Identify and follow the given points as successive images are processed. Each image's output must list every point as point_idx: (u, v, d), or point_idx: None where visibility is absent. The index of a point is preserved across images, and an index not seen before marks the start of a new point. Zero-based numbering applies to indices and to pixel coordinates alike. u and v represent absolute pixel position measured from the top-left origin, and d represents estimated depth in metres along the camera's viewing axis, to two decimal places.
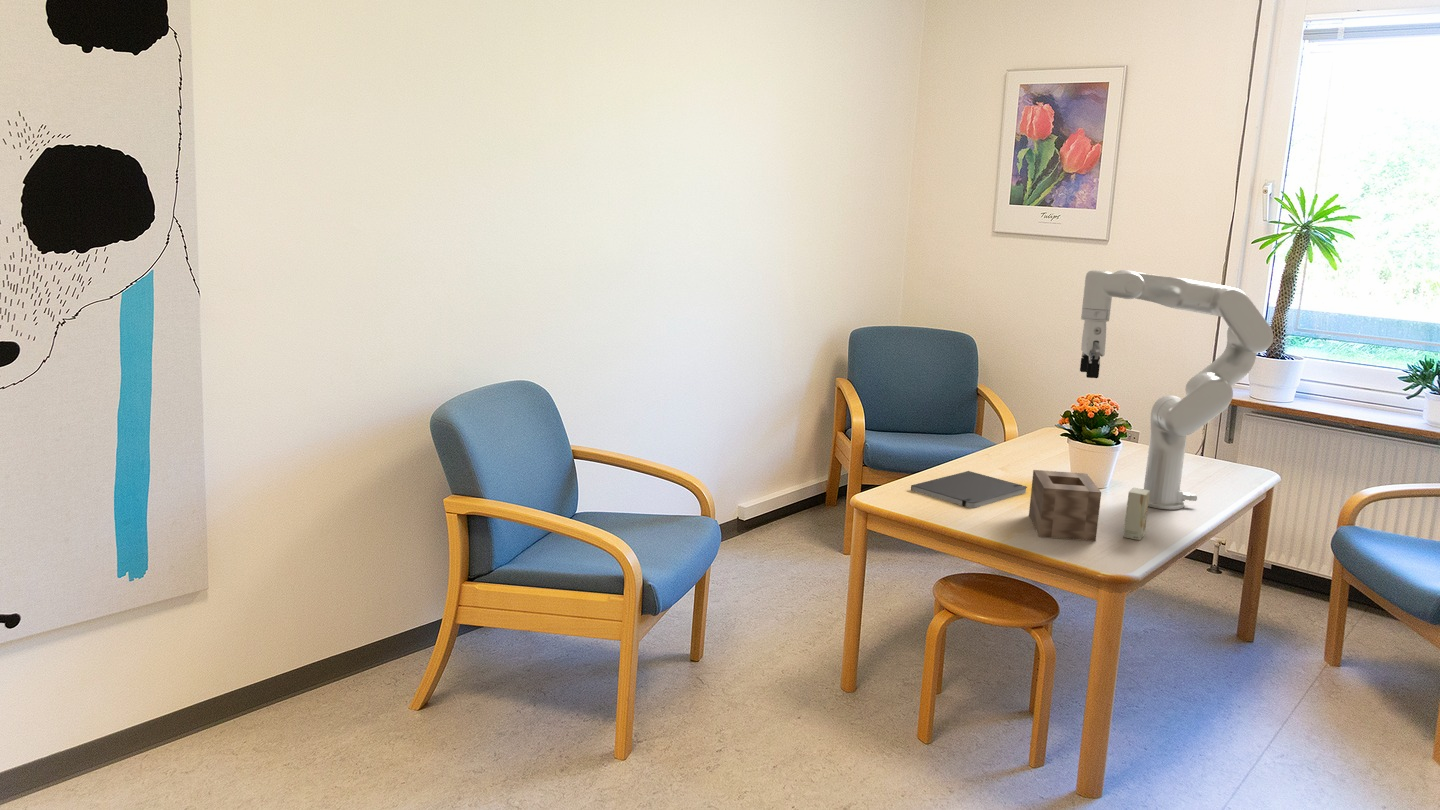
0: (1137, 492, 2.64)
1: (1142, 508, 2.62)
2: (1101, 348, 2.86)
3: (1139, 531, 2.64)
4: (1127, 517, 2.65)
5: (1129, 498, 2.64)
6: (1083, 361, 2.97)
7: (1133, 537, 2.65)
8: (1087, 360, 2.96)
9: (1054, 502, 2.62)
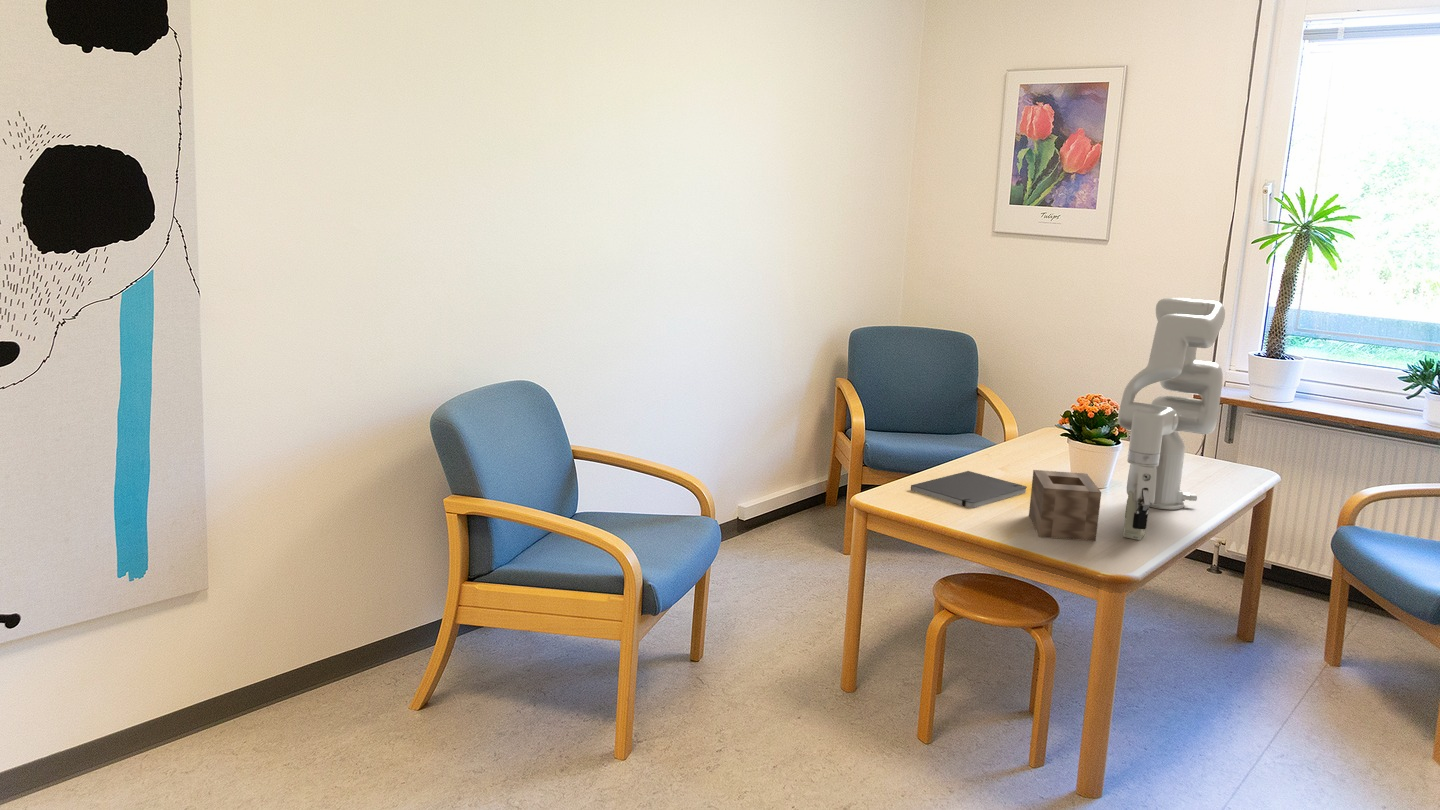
0: None
1: None
2: (1150, 496, 2.60)
3: (1139, 531, 2.64)
4: (1127, 517, 2.65)
5: (1129, 498, 2.64)
6: None
7: (1133, 537, 2.65)
8: None
9: (1054, 502, 2.62)
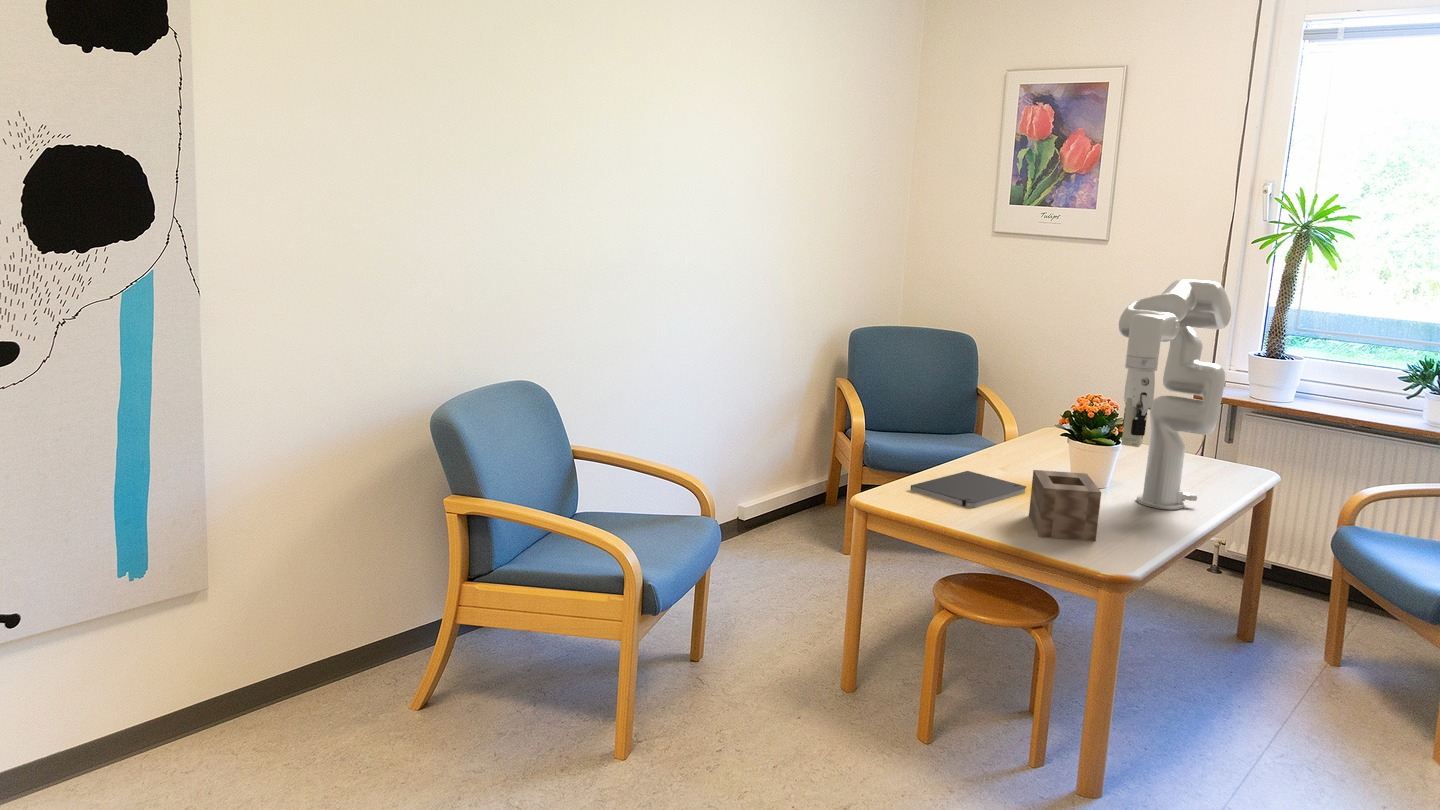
0: None
1: None
2: (1149, 401, 2.56)
3: (1137, 438, 2.59)
4: (1125, 424, 2.60)
5: (1127, 404, 2.60)
6: None
7: (1131, 444, 2.60)
8: None
9: (1054, 502, 2.62)
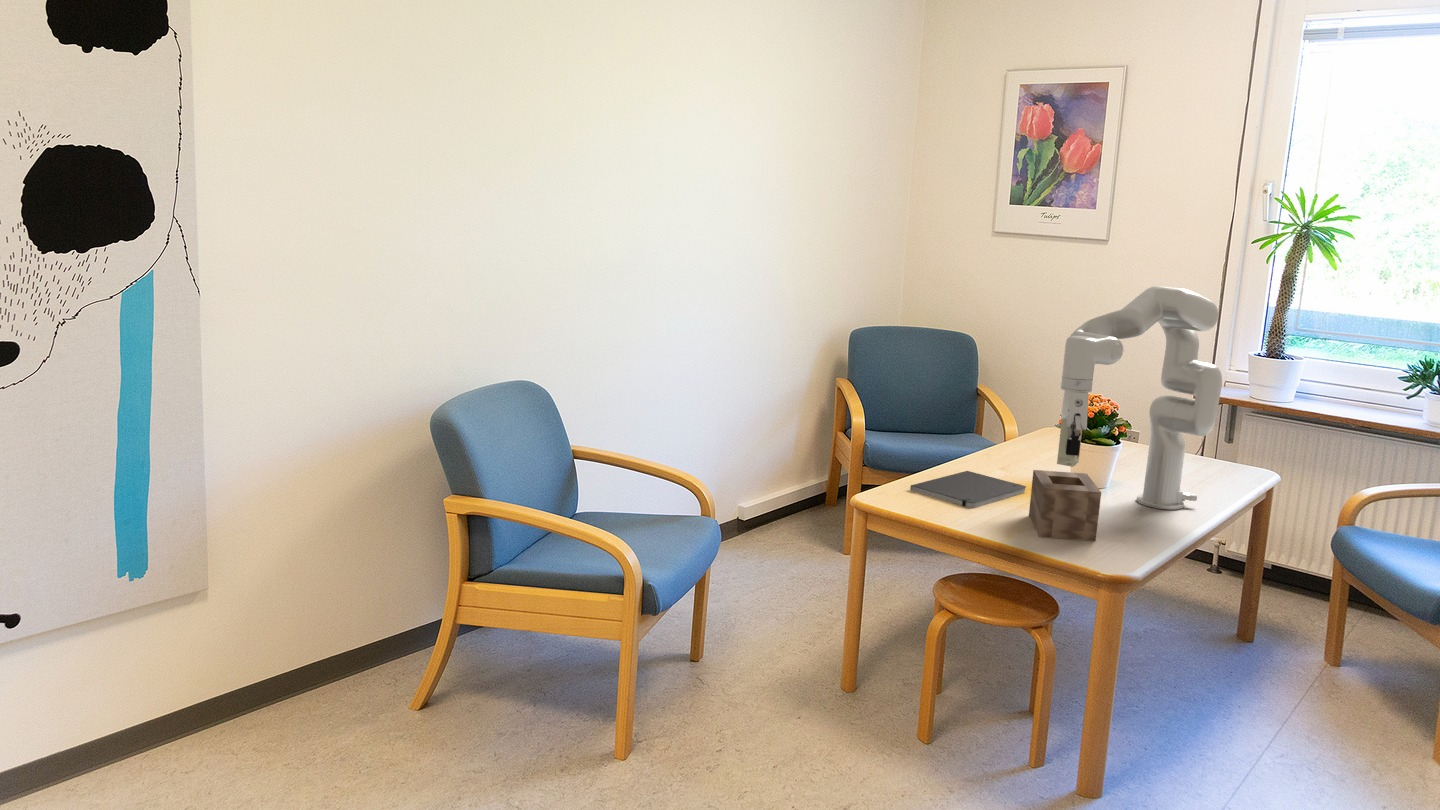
0: None
1: None
2: (1083, 421, 2.61)
3: (1072, 457, 2.64)
4: (1060, 444, 2.65)
5: (1062, 425, 2.65)
6: None
7: (1066, 464, 2.65)
8: None
9: (1054, 502, 2.62)
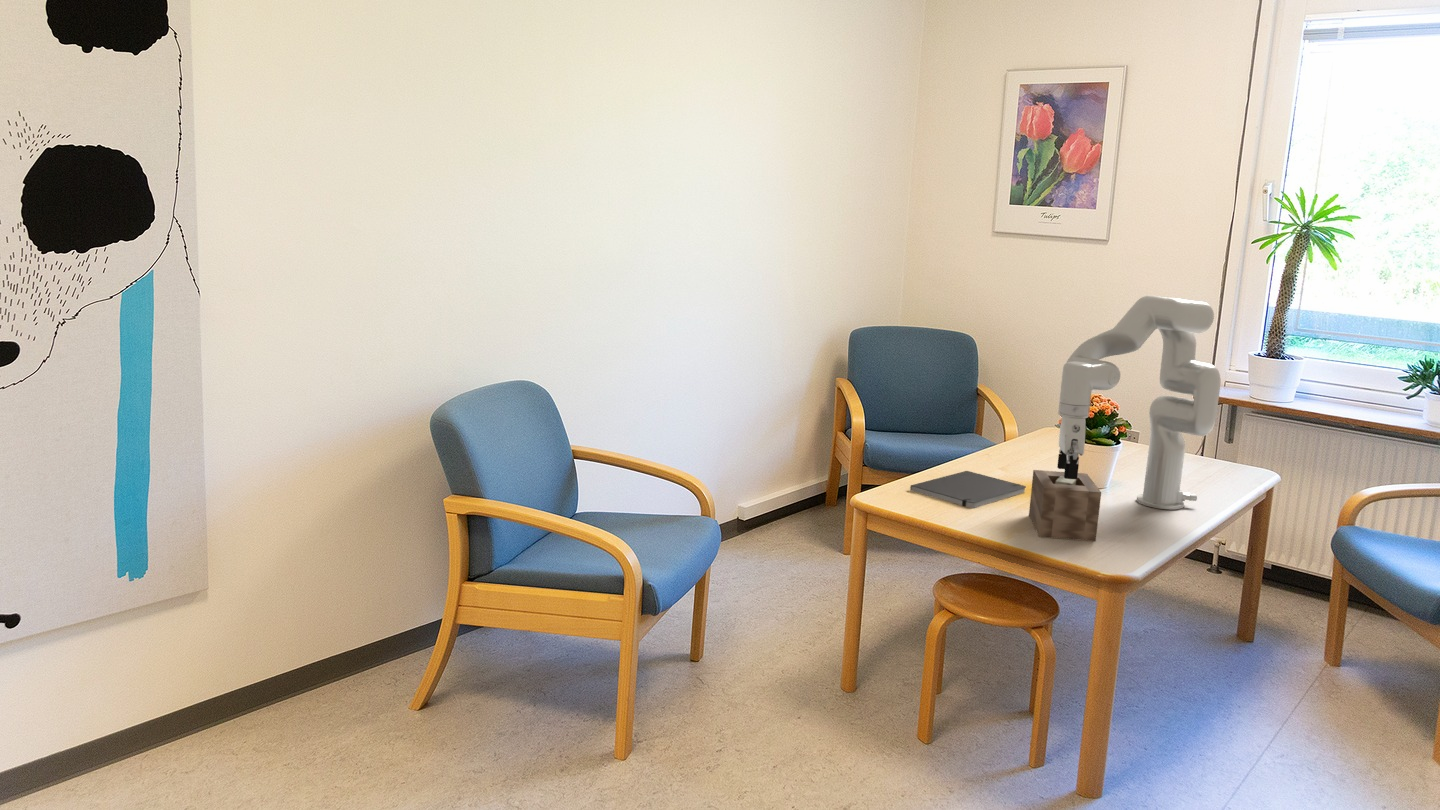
0: (1064, 481, 2.68)
1: None
2: (1080, 447, 2.62)
3: None
4: None
5: None
6: (1061, 457, 2.73)
7: None
8: (1065, 456, 2.72)
9: (1054, 502, 2.62)
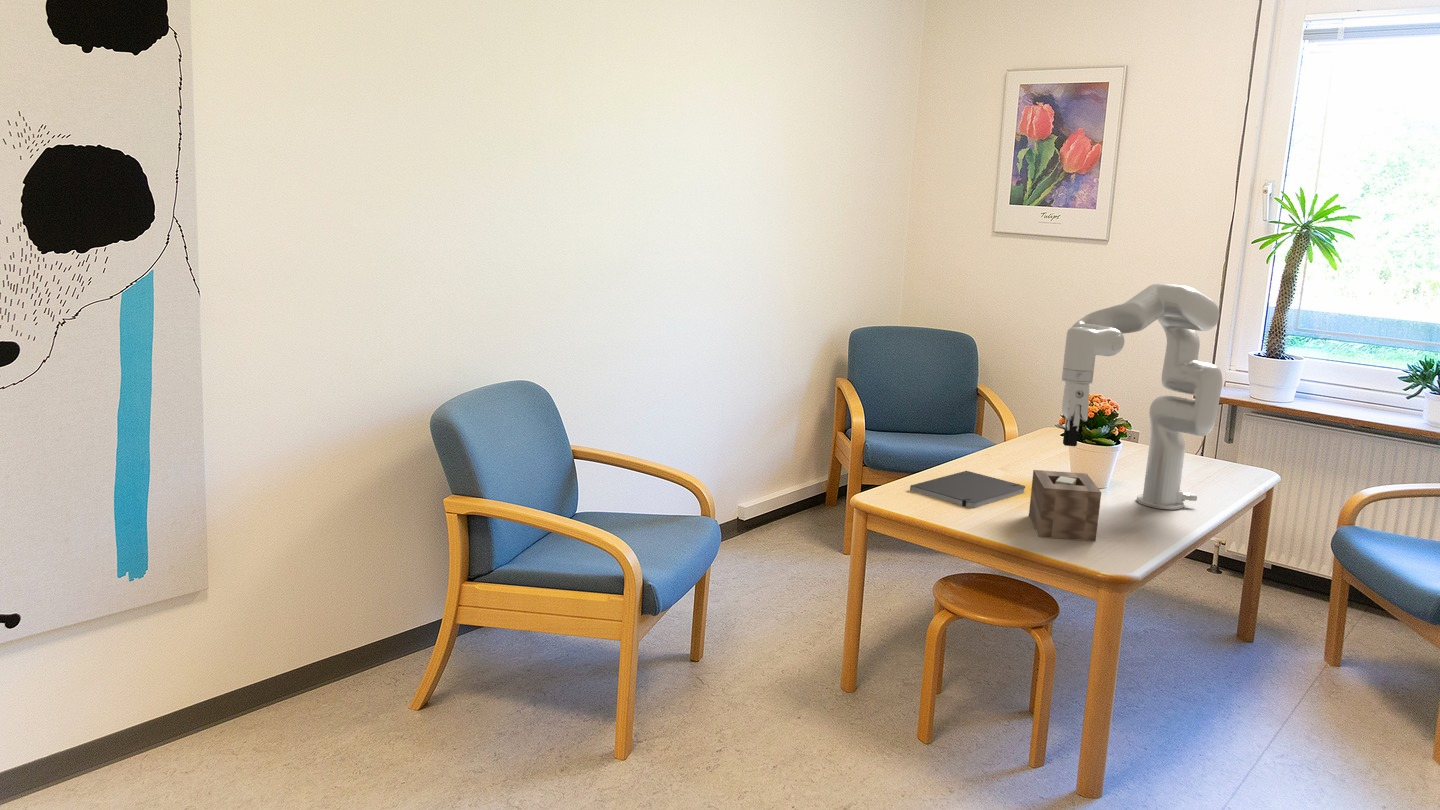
0: (1064, 481, 2.68)
1: None
2: (1083, 413, 2.60)
3: None
4: None
5: None
6: None
7: None
8: None
9: (1054, 502, 2.62)
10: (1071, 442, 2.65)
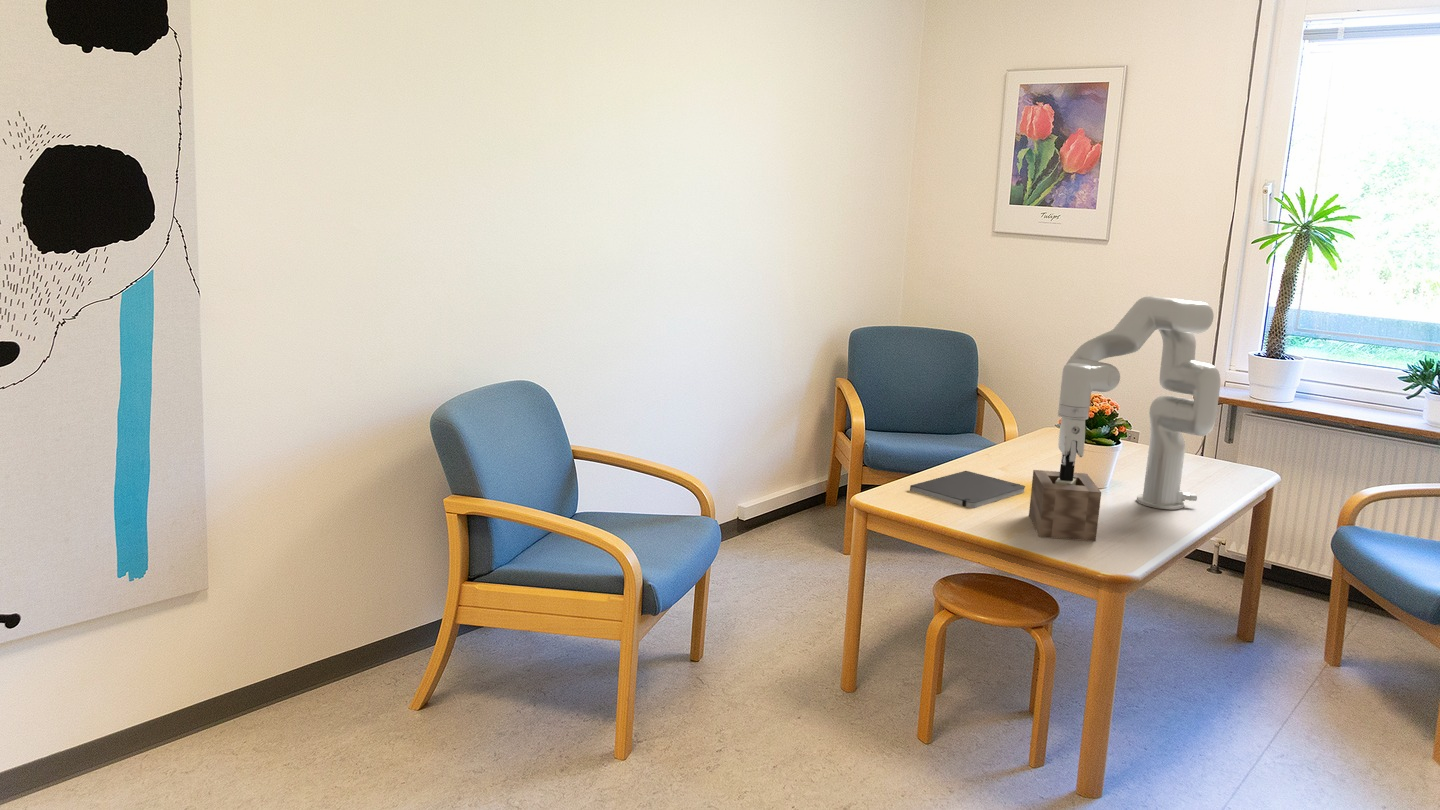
0: (1064, 481, 2.68)
1: None
2: (1080, 449, 2.62)
3: None
4: None
5: None
6: None
7: None
8: None
9: (1054, 502, 2.62)
10: (1067, 477, 2.67)
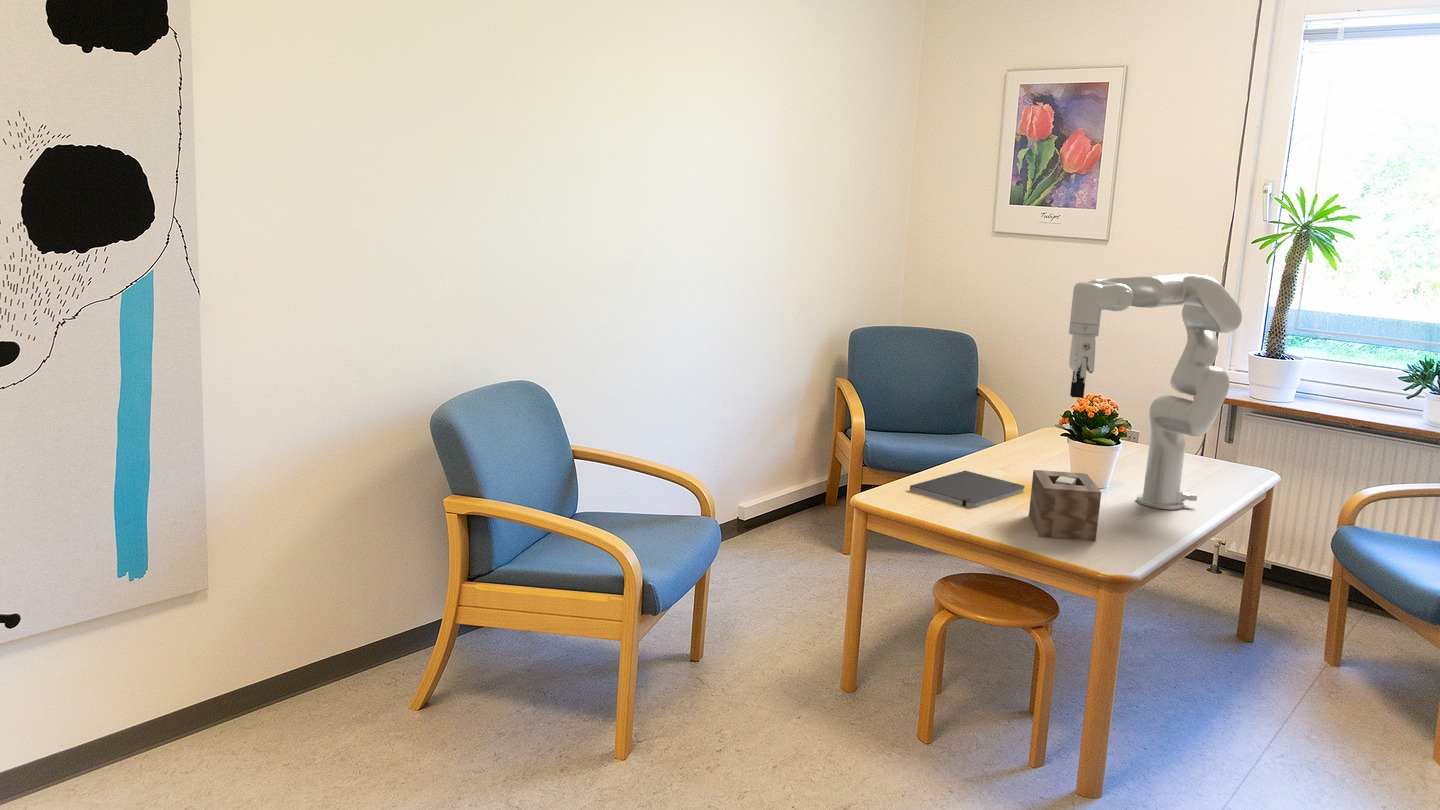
0: (1063, 481, 2.68)
1: None
2: (1090, 365, 2.70)
3: None
4: None
5: None
6: None
7: None
8: None
9: (1054, 502, 2.62)
10: (1078, 394, 2.76)
